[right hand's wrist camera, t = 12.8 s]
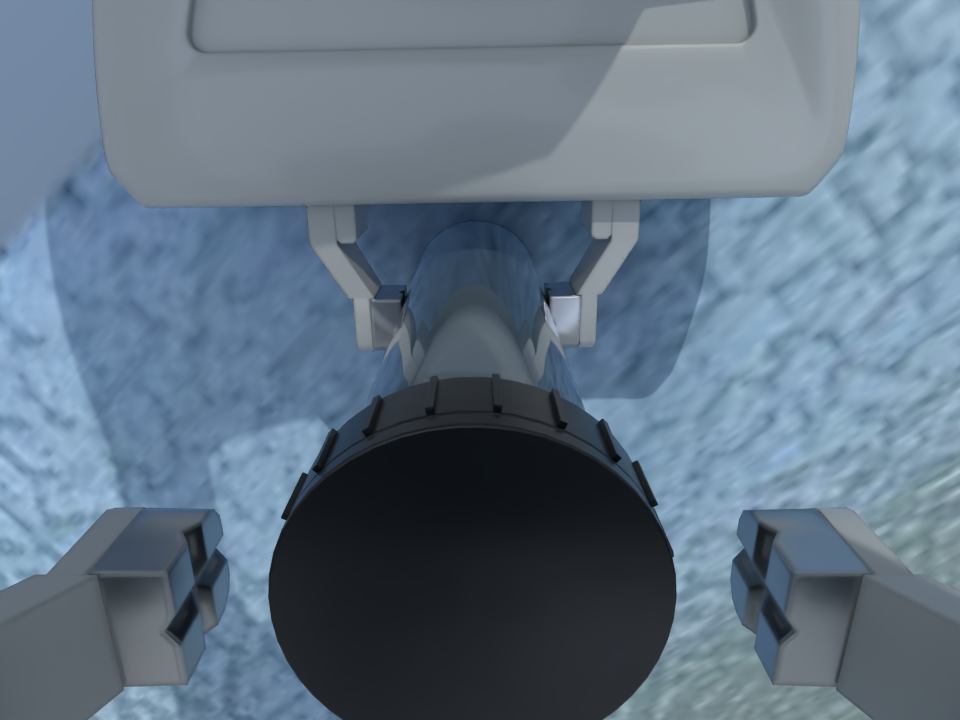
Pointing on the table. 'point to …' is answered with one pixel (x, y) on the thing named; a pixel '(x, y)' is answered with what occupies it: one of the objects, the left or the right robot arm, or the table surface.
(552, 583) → the lid
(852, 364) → the table surface
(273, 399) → the table surface
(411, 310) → the jar
